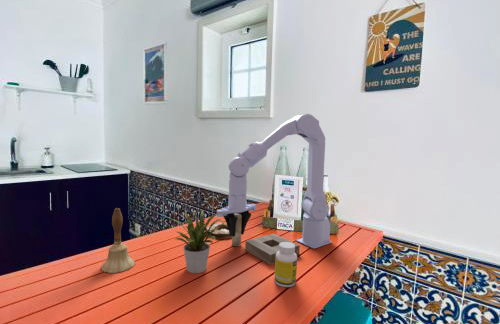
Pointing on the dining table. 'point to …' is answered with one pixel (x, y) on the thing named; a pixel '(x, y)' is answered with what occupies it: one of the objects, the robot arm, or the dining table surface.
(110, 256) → the hand bell
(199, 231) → the house plant
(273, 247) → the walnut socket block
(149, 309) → the dining table surface
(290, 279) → the supplement bottle
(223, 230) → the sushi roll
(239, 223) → the beech peg
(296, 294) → the dining table surface
